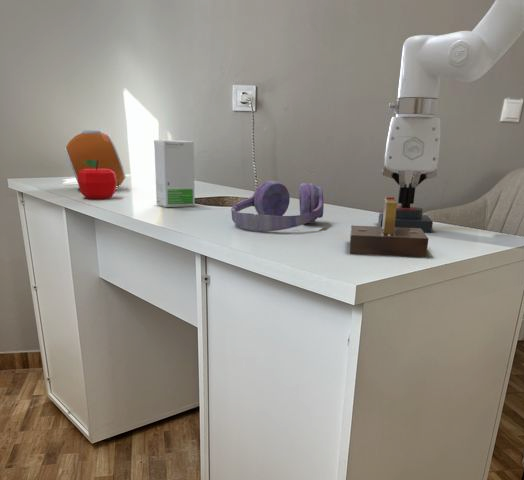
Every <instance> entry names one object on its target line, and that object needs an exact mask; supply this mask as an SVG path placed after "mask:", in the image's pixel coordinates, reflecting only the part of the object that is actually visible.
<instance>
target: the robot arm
mask: <svg viewBox="0 0 524 480" xmlns="http://www.w3.org/2000/svg"><path fill="white" fill-rule="evenodd" d="M491 5H492V6H491V7H490V8H489V9H488V11H487V12H486V14H485V15H484V16H483V17H482V19H480V21H479V22H478V24H476V26H475V27H474V28H473V29H472V30H460V31H455V32H450V33H445V34H440V35H432V34H420V35H419V34H417V35H412V36H410V37H408V38H407V39H405V40H404V43H403V46H402V52H401V62H400V71H399V72H400V73H399V82H398V90H397V99H396V100H395V101H393V102H389V104H388V110H389V111H392V112H394V113H395V116H392V117H391V119H390V123H389V128H388V133H387V137H386V143H385V150H384V164H383V167H382V171H381V175H382V176H383V177H386V178H389V179H393V180H394V181H395V182H396V184H397V185H398V186H399V190H398V196H397V197H398V198H397V204H400V206H401V208H404V207H406V208H410V207H411V205H413V204H414V202H415V194H416V188H417V187H418V186H419V185H420V184H422V182H424V181H425V180H430V179H434V178H437V176H438V172H437V169H438V165H439V159H440V146H441V117H437V111H438V104H439V103H438V102H439V95H440V89H441V79H442V77H444V78H451V79H454V80H457V81H460V82H463V83H471V82H475V81H477V80H479V79H480V78H481V77H483V76H484V75H485V74H486V73H487V72H488V71H489V70H490V69H492V67H493V66H494V65H495V64H496V63H497V62H498V61H499V60H500V59H501V57H503V55H504V54H506V52H507V51H508V50H509V49H510V48H511V47H512V46H513V45H514V43H515V42H517V40H518V39H519V38H520V36H521V35H522V34H523V32H524V0H494V3H492V4H491ZM406 172H407V173H408V172H410V173H412V175H411V178H410V182H409V183H408V184H407V183H406Z"/></svg>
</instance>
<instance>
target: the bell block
mask: <svg viewBox="0 0 524 480" xmlns="http://www.w3.org/2000/svg"><path fill="white" fill-rule="evenodd" d="M399 206H400V205H397V207H399ZM413 207H414V208H415V209H414V210H405V209H397V208H396V218H395V227H401V228H421V229H422V230H423V232H424V233H432V230H433V223H434V221H433V220H432V218H430V216H429V215H428V214H423V208H421V207H417V206H413ZM383 213H384V212H382V213H381V212H380V213H378V222H377V224H378V227H382V223H383Z"/></svg>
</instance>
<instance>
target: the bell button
mask: <svg viewBox="0 0 524 480" xmlns="http://www.w3.org/2000/svg"><path fill="white" fill-rule="evenodd" d="M398 206H399V207H397V209H405V210H414V209H415V208H414V207H415V206H410V208H406V207H404V208H401V205H398Z"/></svg>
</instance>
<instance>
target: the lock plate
mask: <svg viewBox="0 0 524 480" xmlns="http://www.w3.org/2000/svg"><path fill="white" fill-rule="evenodd" d="M349 237H350V238H349V254H350V255H364V256H365V255H366V256H389V257H407V258H408V257H410V258H427V253H428V245H429V237H428V236H427V235H426V232H423V230H422V229H421V228H401V227H394V234H384V232H383V229H382V227H379V226H375V225H374V226H372V225H350V236H349Z"/></svg>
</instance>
